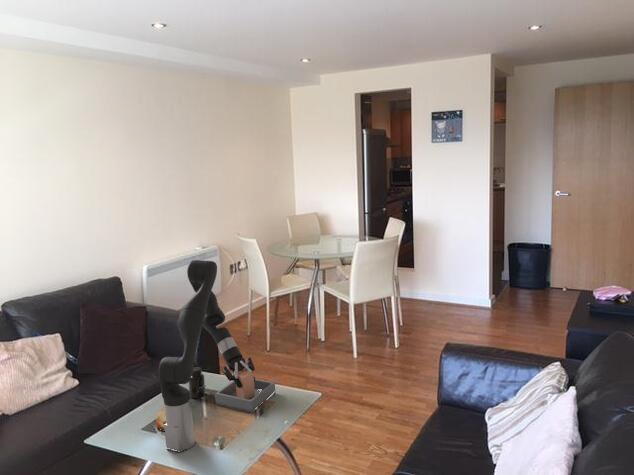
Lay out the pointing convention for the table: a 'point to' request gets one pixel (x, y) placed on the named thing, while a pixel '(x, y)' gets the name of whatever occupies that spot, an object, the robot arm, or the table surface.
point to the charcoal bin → (230, 399)
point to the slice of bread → (161, 420)
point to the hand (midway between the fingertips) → (247, 384)
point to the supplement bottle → (197, 383)
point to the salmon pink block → (245, 385)
